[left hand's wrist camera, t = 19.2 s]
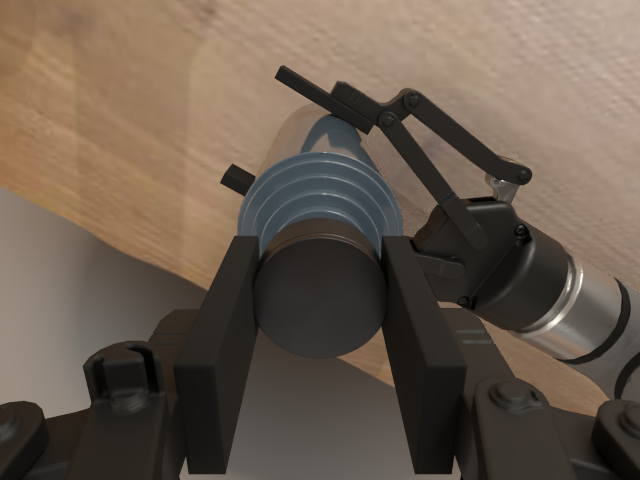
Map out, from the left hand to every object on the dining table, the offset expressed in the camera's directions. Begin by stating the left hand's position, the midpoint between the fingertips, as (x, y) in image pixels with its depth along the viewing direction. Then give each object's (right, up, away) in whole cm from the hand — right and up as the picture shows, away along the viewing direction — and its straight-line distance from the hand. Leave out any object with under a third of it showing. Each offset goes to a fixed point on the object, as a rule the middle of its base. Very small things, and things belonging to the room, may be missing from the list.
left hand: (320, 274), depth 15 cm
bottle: (0, +8, +21) cm, 23 cm away
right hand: (-4, +8, +14) cm, 17 cm away
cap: (0, -1, -1) cm, 1 cm away
